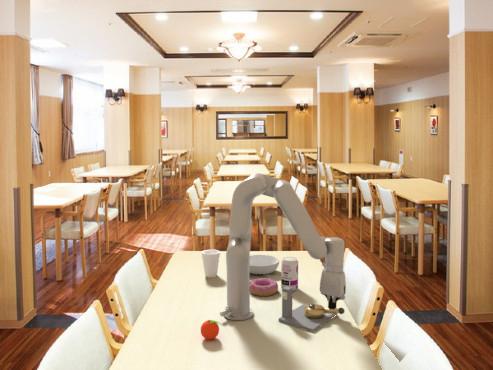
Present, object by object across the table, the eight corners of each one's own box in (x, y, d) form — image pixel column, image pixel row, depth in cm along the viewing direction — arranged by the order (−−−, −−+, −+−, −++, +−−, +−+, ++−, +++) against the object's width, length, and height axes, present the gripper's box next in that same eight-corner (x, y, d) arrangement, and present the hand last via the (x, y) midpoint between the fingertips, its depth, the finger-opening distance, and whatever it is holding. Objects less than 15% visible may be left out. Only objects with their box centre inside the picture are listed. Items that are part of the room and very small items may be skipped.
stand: (314, 332, 171) (315, 299, 170) (278, 321, 182) (278, 289, 180) (339, 315, 187) (340, 285, 185) (304, 306, 197) (304, 277, 196)
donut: (280, 288, 220) (280, 278, 219) (274, 298, 206) (274, 288, 206) (252, 285, 224) (252, 276, 223) (244, 295, 210) (244, 285, 210)
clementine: (222, 334, 170) (222, 316, 170) (221, 342, 164) (221, 324, 163) (201, 334, 170) (201, 316, 169) (200, 343, 163) (199, 324, 162)
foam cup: (199, 274, 241) (199, 250, 240) (216, 271, 245) (215, 248, 244) (205, 279, 233) (205, 255, 231) (222, 276, 237) (222, 253, 235)
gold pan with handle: (305, 318, 181) (305, 308, 180) (303, 310, 189) (303, 301, 188) (345, 319, 180) (346, 309, 179) (343, 311, 188) (343, 302, 187)
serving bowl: (235, 269, 250) (234, 257, 249) (268, 264, 258) (268, 252, 258) (251, 280, 231) (251, 267, 230) (286, 275, 240) (286, 262, 239)
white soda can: (297, 286, 222) (298, 256, 220) (298, 292, 214) (298, 261, 212) (281, 285, 223) (281, 256, 221) (281, 291, 215) (281, 261, 213)
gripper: (313, 266, 186) (311, 308, 188) (346, 273, 177) (344, 318, 179) (322, 262, 192) (320, 303, 194) (354, 269, 183) (352, 312, 185)
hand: (332, 310), depth 187 cm, fingers closed
